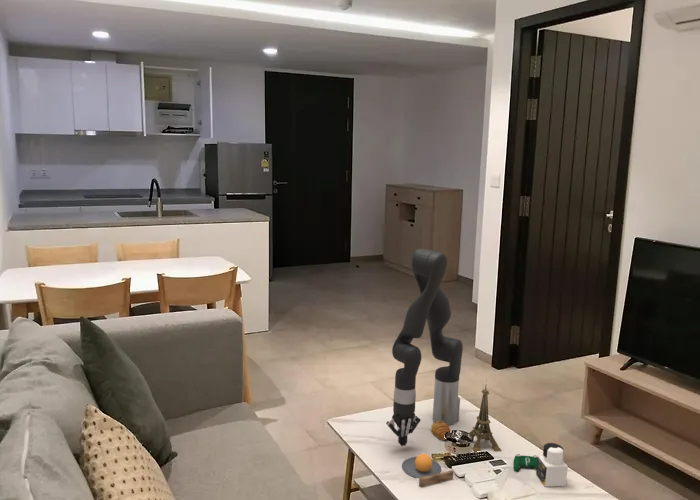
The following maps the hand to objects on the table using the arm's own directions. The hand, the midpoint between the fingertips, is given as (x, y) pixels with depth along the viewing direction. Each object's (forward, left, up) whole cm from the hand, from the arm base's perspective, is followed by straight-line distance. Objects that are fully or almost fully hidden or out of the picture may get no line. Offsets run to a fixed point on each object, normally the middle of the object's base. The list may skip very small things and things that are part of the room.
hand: (402, 444), depth 207 cm
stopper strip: (0, +22, -2) cm, 22 cm away
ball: (0, +15, +1) cm, 15 cm away
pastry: (-19, -4, -2) cm, 20 cm away
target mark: (0, +13, -2) cm, 13 cm away
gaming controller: (-33, +26, -2) cm, 42 cm away
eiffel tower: (-28, +8, -2) cm, 29 cm away
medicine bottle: (-35, +35, -2) cm, 50 cm away
